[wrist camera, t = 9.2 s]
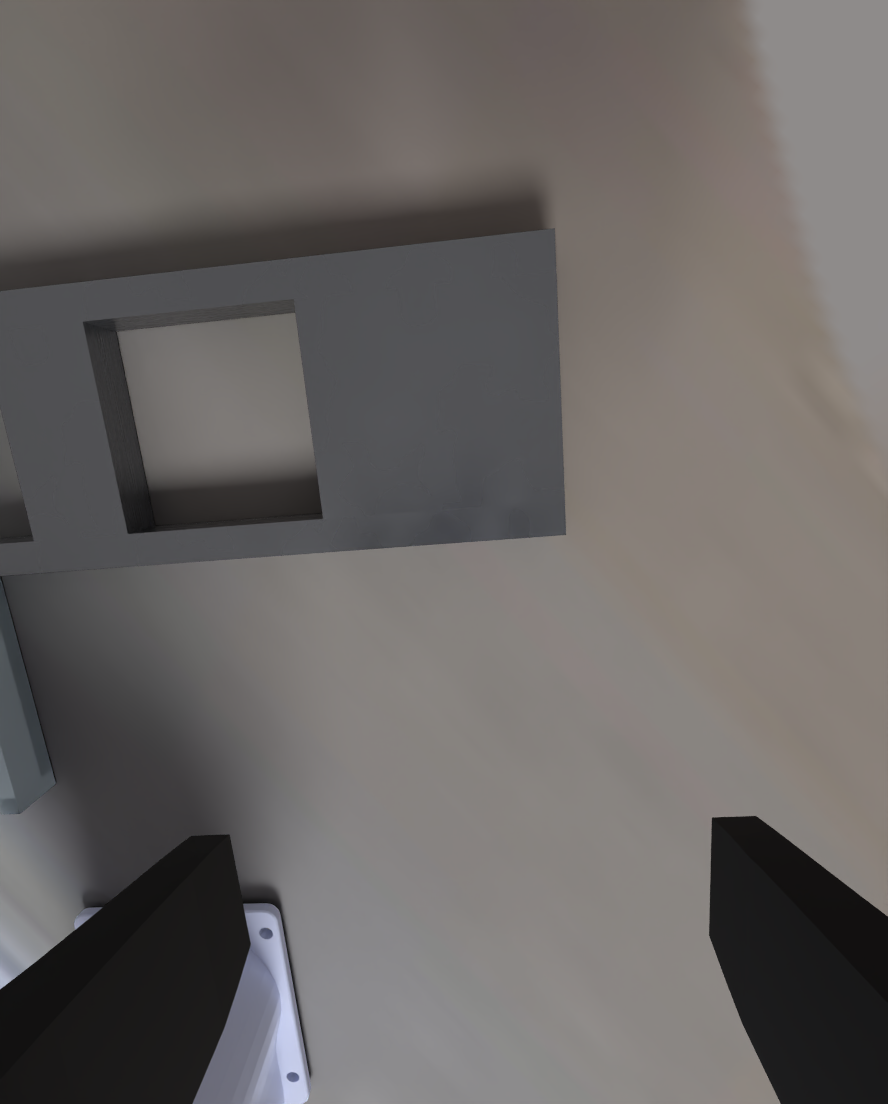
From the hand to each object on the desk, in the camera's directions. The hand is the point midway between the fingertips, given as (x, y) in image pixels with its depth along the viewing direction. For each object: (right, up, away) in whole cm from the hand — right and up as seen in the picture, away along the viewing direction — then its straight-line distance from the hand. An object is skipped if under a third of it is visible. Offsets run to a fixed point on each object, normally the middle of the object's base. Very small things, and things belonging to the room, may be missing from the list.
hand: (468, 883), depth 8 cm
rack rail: (-10, +9, +9) cm, 16 cm away
